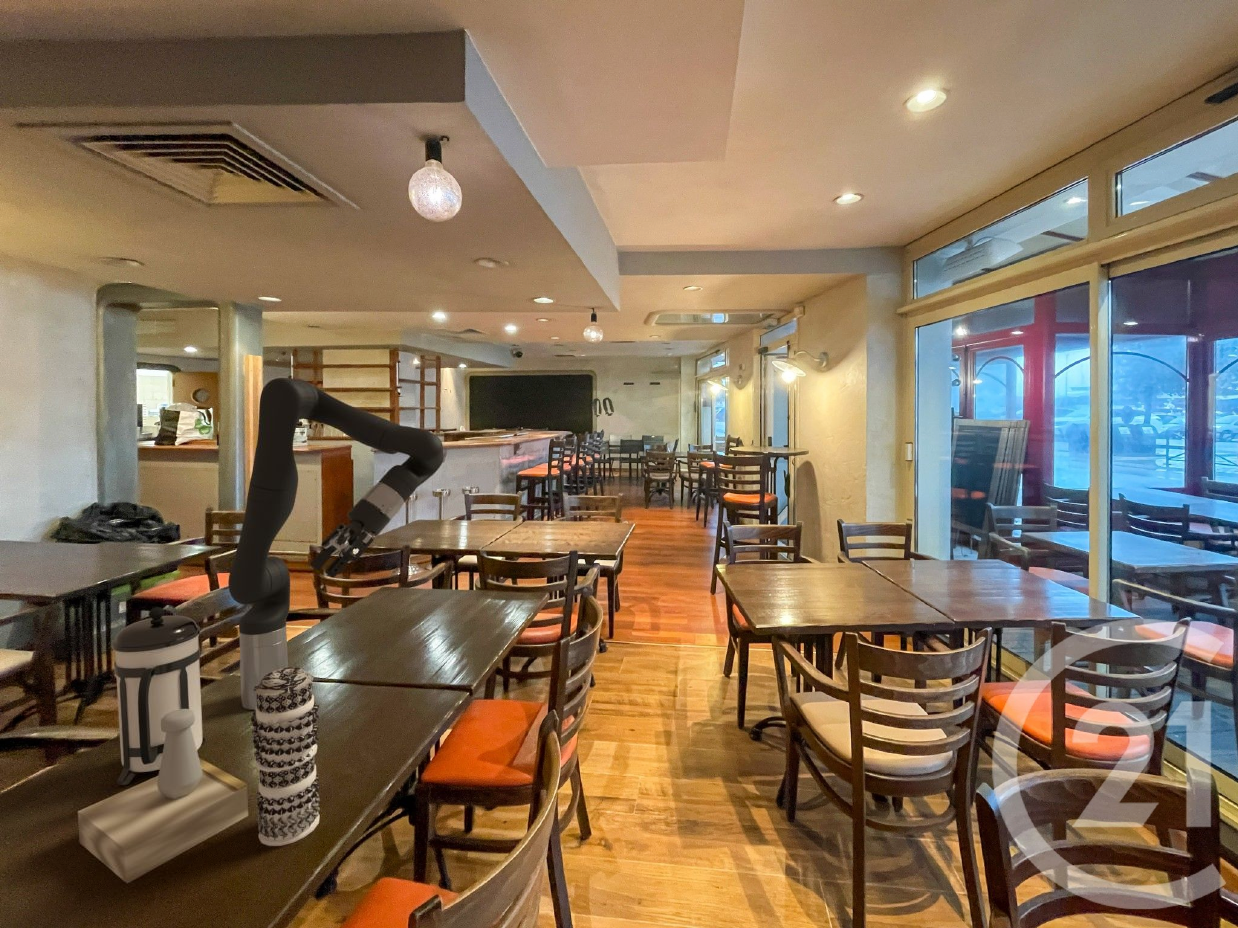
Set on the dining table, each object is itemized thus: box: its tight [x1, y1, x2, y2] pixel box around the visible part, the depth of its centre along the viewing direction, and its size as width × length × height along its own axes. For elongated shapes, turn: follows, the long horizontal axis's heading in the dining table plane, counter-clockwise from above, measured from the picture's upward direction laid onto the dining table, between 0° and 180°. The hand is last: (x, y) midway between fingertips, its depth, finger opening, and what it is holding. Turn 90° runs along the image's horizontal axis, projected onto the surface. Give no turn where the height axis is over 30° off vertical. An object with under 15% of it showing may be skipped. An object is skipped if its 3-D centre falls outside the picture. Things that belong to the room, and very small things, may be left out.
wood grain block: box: [77, 757, 249, 884], centre depth 90 cm, size 16×16×5 cm
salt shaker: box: [157, 709, 203, 800], centre depth 91 cm, size 6×6×13 cm
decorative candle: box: [250, 666, 321, 847], centre depth 90 cm, size 9×9×25 cm
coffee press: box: [111, 606, 206, 787], centre depth 106 cm, size 17×16×30 cm
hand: (320, 571), depth 114 cm, fingers open, 8 cm apart
